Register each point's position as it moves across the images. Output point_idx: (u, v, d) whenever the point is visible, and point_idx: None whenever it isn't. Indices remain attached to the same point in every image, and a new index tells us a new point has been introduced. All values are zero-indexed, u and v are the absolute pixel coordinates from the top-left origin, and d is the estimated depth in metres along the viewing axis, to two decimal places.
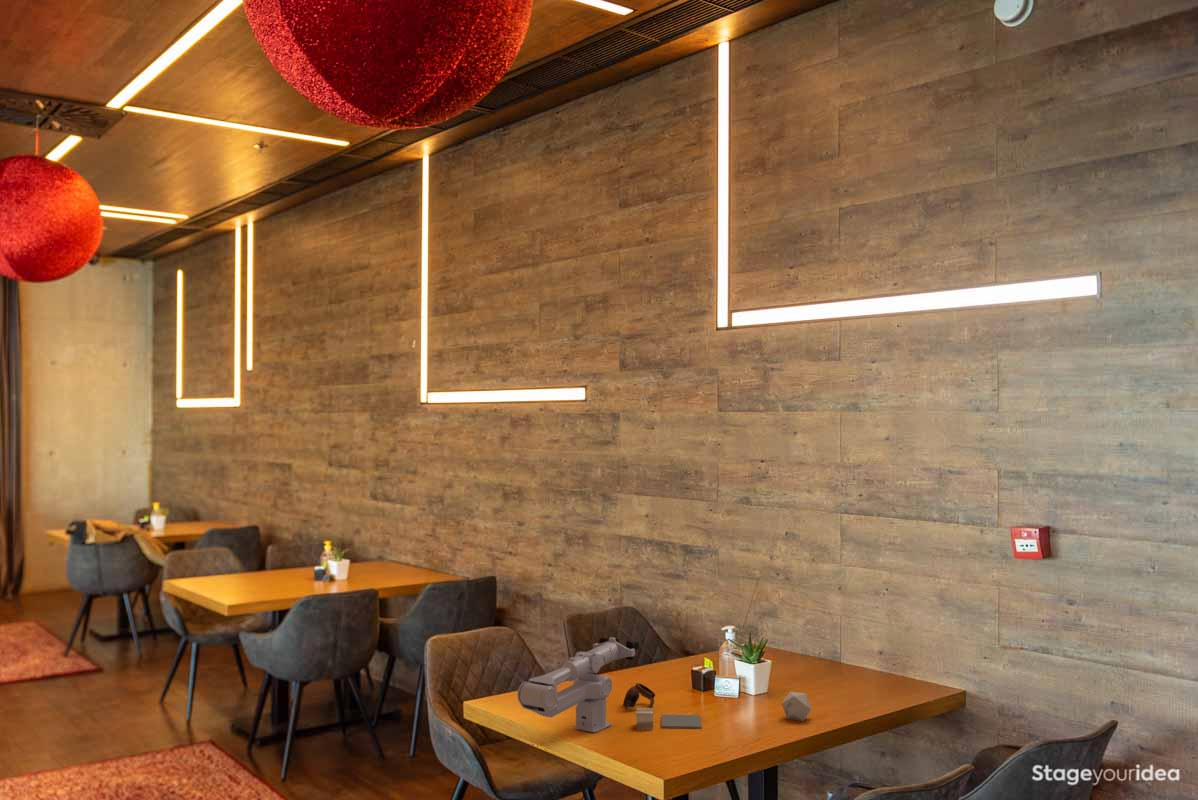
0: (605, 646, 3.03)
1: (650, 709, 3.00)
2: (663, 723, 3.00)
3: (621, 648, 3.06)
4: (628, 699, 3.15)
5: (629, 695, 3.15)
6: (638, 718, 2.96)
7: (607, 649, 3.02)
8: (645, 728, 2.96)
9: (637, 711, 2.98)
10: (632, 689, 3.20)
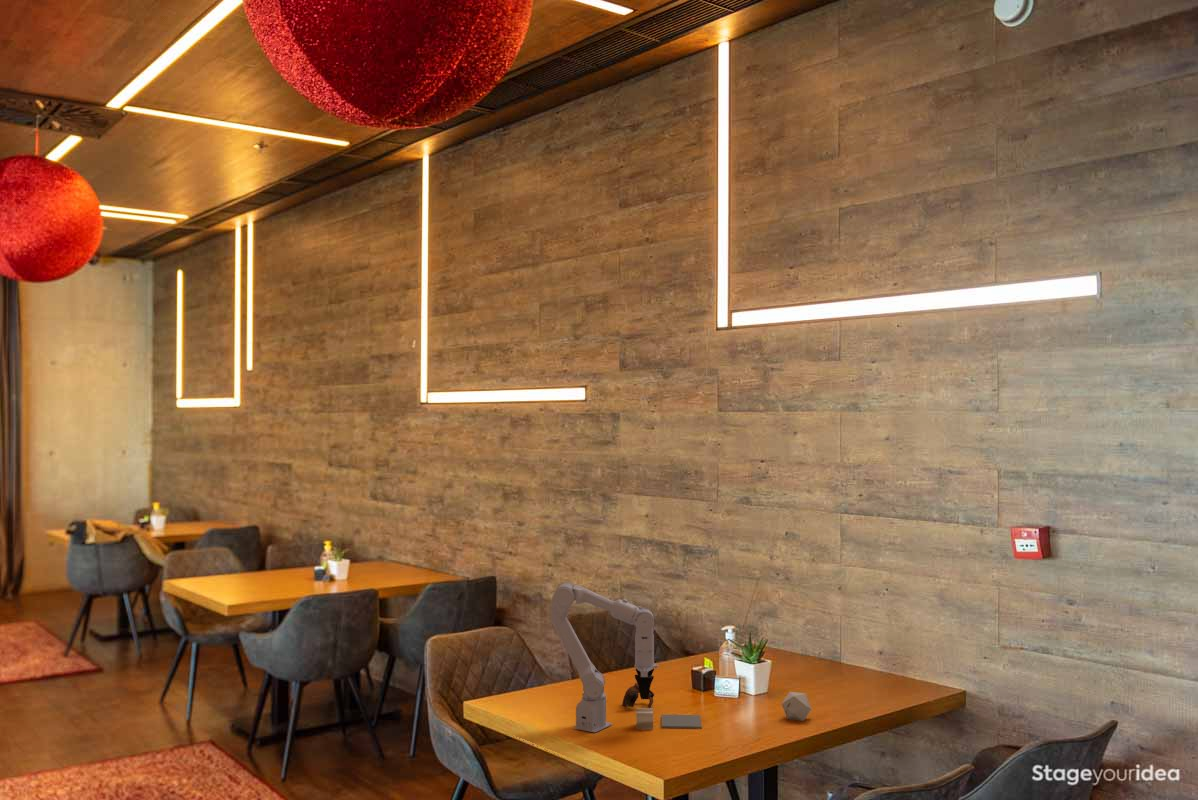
0: (653, 649, 2.98)
1: (650, 709, 3.00)
2: (663, 723, 3.00)
3: None
4: (627, 699, 3.15)
5: (628, 695, 3.16)
6: (638, 718, 2.96)
7: (651, 648, 2.97)
8: (645, 728, 2.96)
9: (637, 711, 2.98)
10: (631, 689, 3.20)
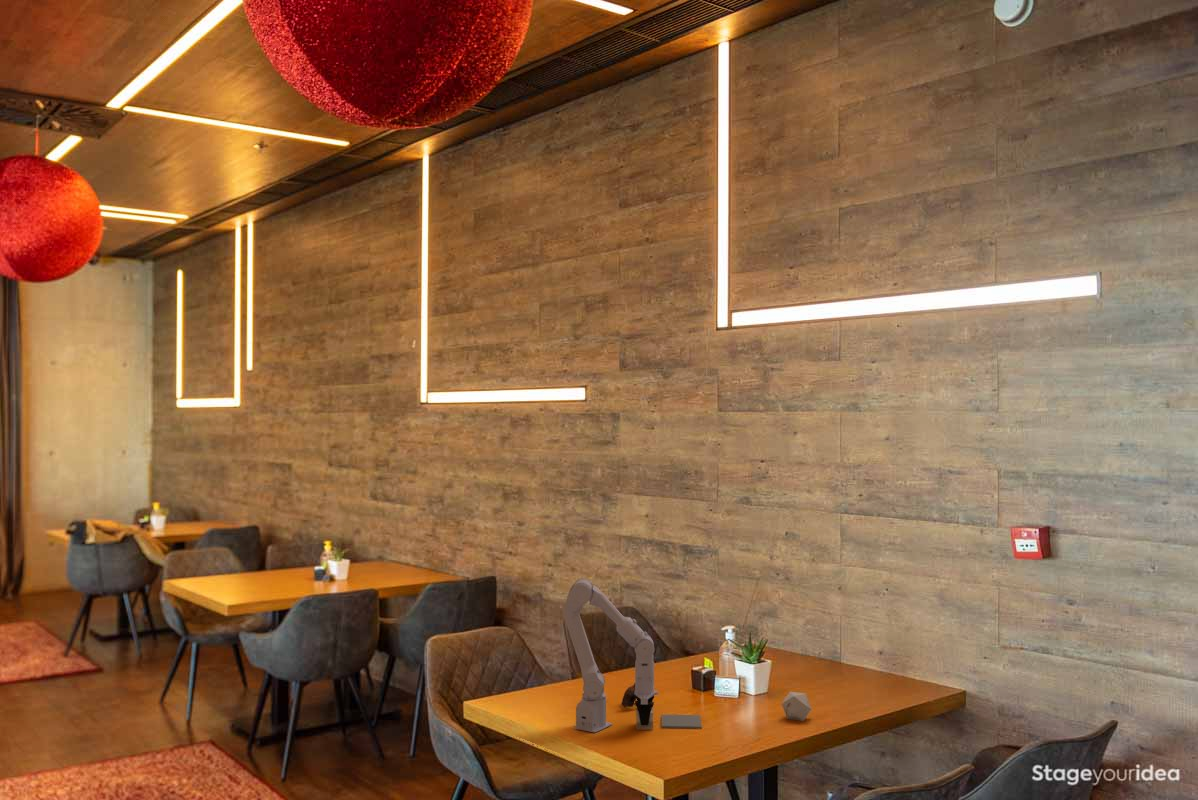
0: (653, 676, 2.98)
1: None
2: (663, 723, 3.00)
3: (647, 695, 2.96)
4: (626, 699, 3.16)
5: (627, 695, 3.16)
6: (638, 717, 2.96)
7: (651, 675, 2.97)
8: (645, 728, 2.96)
9: (637, 711, 2.98)
10: (630, 689, 3.20)
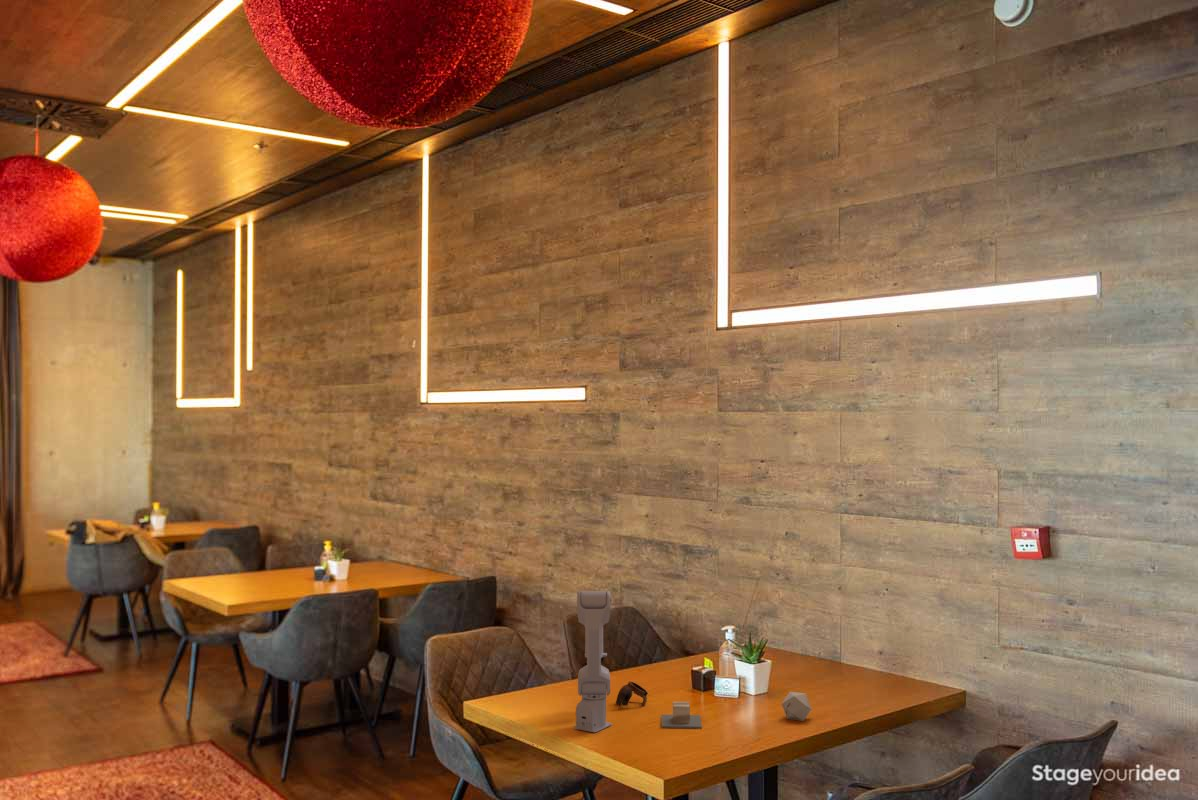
0: None
1: (686, 702, 3.04)
2: (663, 723, 3.00)
3: None
4: (621, 697, 3.17)
5: (622, 693, 3.17)
6: (675, 711, 3.01)
7: None
8: (682, 721, 3.01)
9: (674, 704, 3.02)
10: (625, 687, 3.22)
